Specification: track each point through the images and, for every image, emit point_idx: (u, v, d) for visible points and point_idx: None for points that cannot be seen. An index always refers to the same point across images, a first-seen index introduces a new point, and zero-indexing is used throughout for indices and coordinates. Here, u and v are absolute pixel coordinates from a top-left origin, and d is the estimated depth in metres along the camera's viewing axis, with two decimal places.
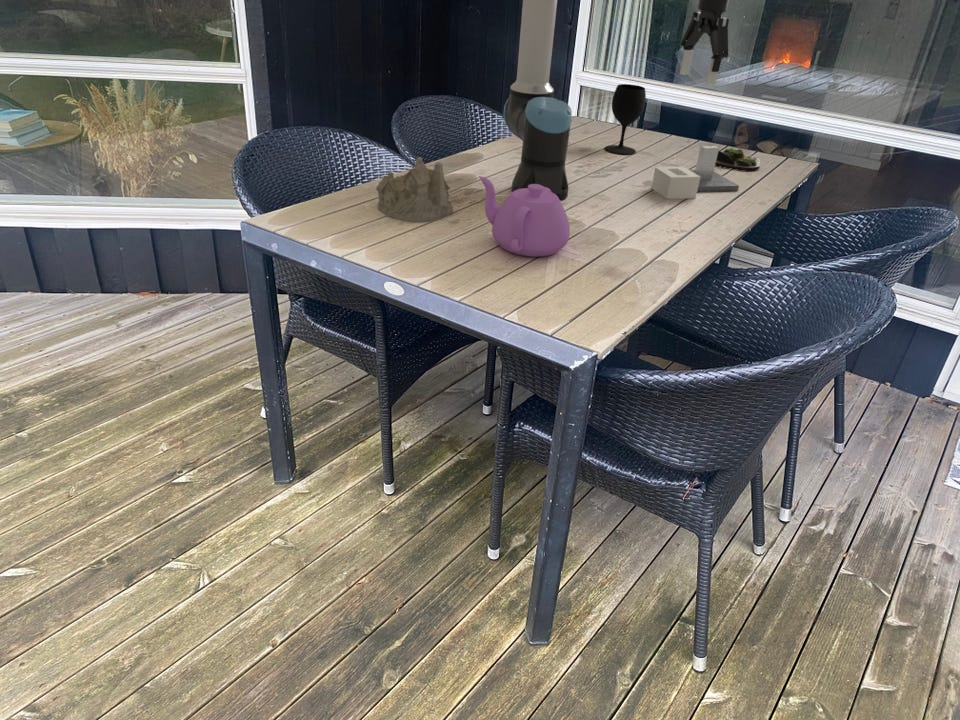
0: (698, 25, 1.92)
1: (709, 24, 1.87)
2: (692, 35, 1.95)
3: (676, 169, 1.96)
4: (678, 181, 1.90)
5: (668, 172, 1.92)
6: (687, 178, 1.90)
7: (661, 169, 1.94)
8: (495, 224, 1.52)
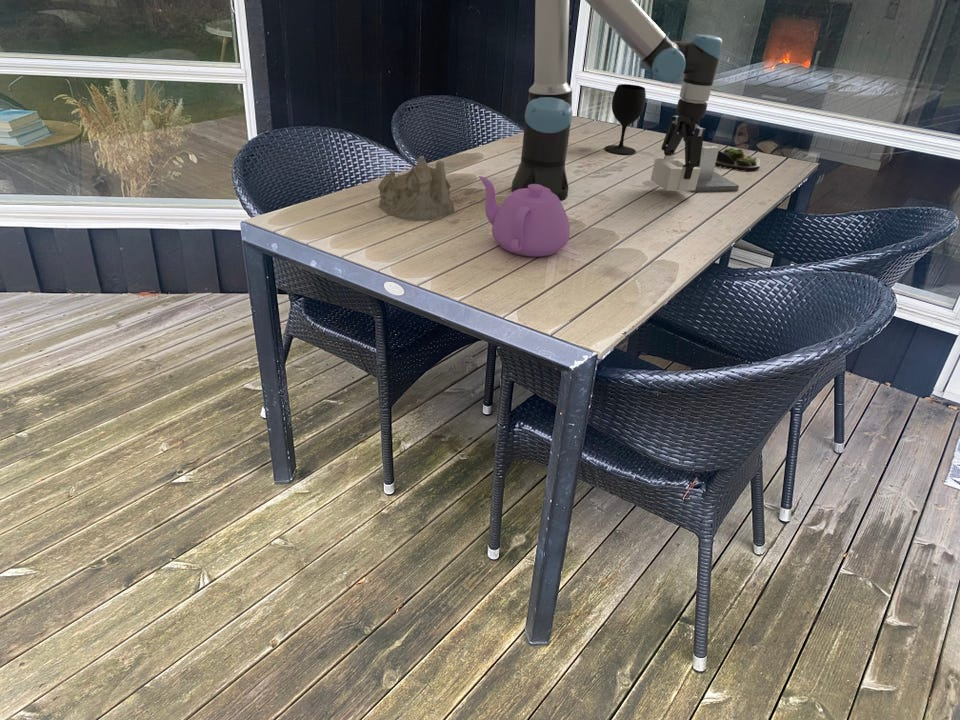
0: (676, 129, 1.89)
1: (686, 130, 1.85)
2: (672, 139, 1.92)
3: (676, 161, 1.95)
4: (678, 173, 1.89)
5: (668, 164, 1.91)
6: None
7: (661, 161, 1.93)
8: (495, 223, 1.52)
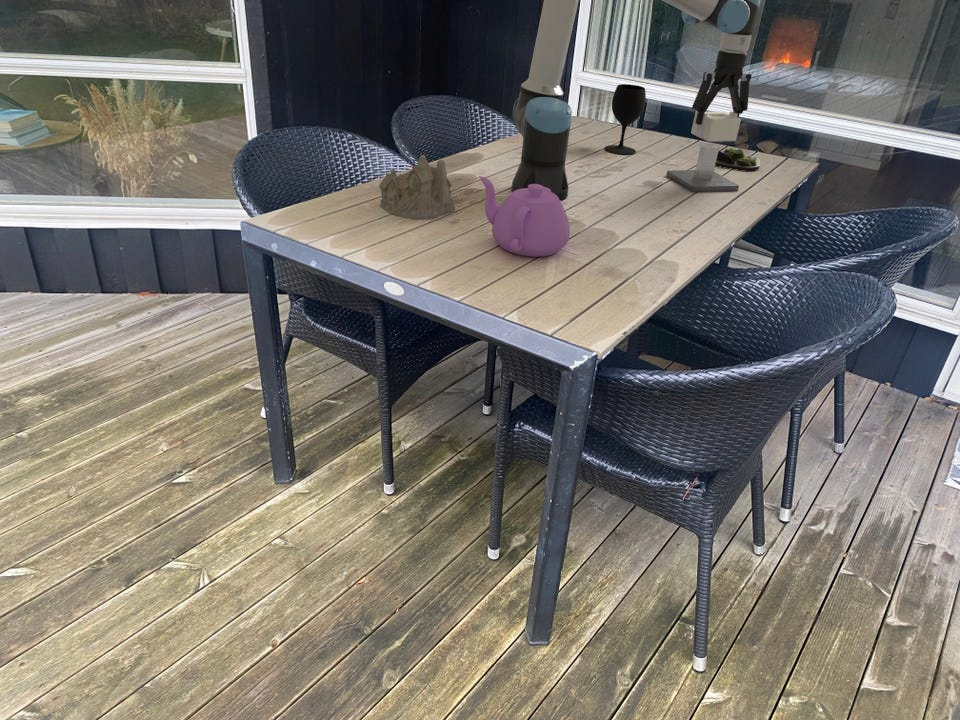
0: None
1: None
2: None
3: None
4: None
5: (709, 112, 1.99)
6: None
7: (716, 111, 2.00)
8: (495, 223, 1.52)
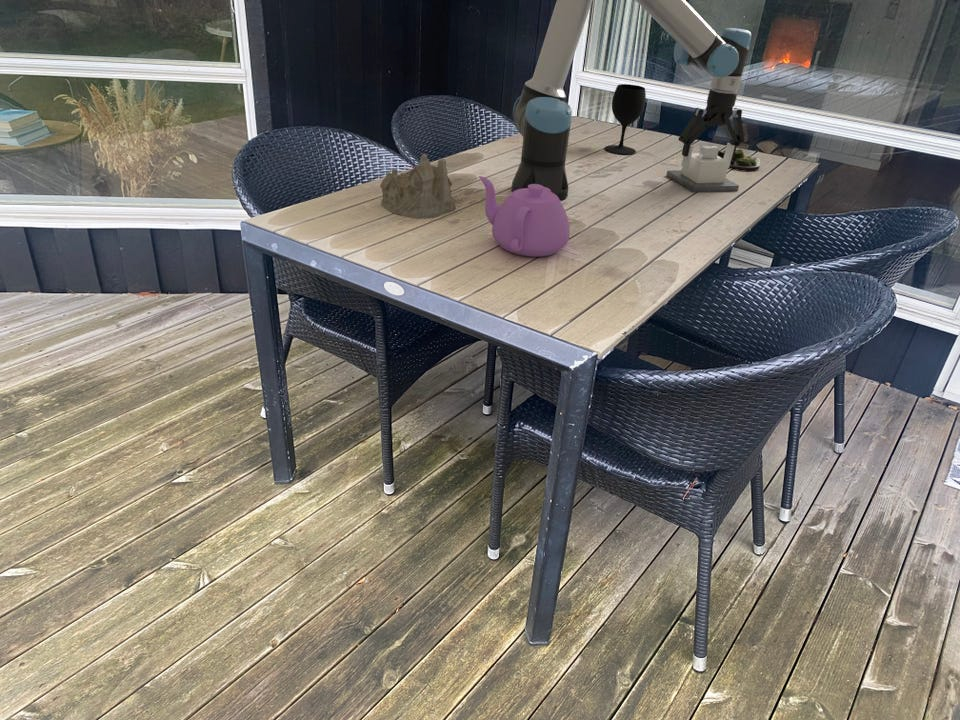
0: None
1: None
2: None
3: None
4: None
5: None
6: (694, 159, 2.01)
7: None
8: (495, 223, 1.52)
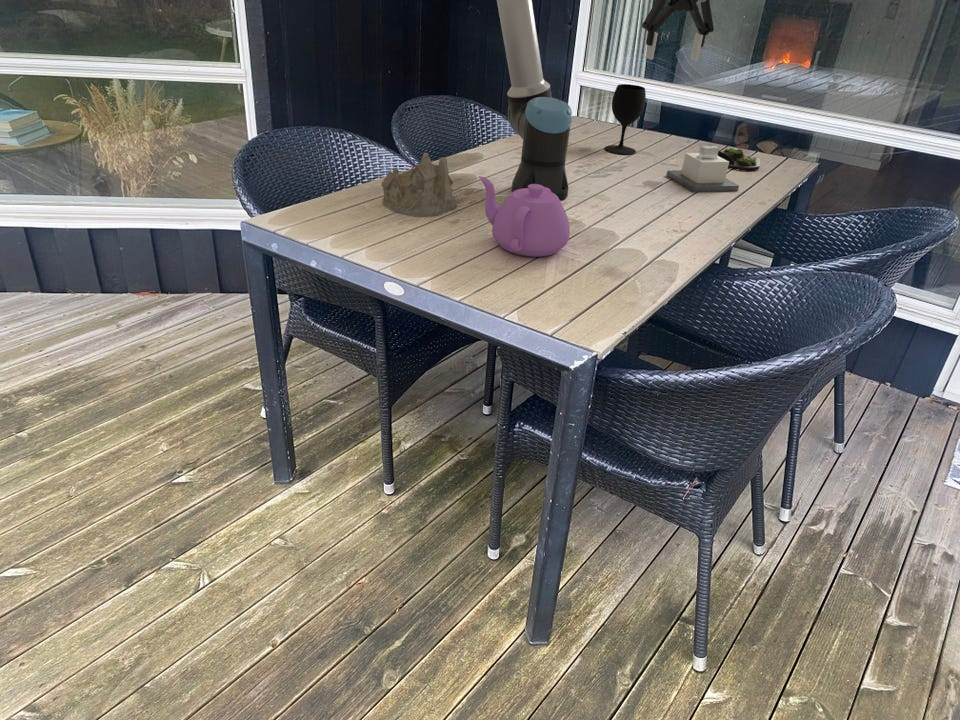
0: None
1: None
2: None
3: None
4: (688, 159, 2.04)
5: None
6: (694, 159, 2.01)
7: None
8: (495, 224, 1.52)
